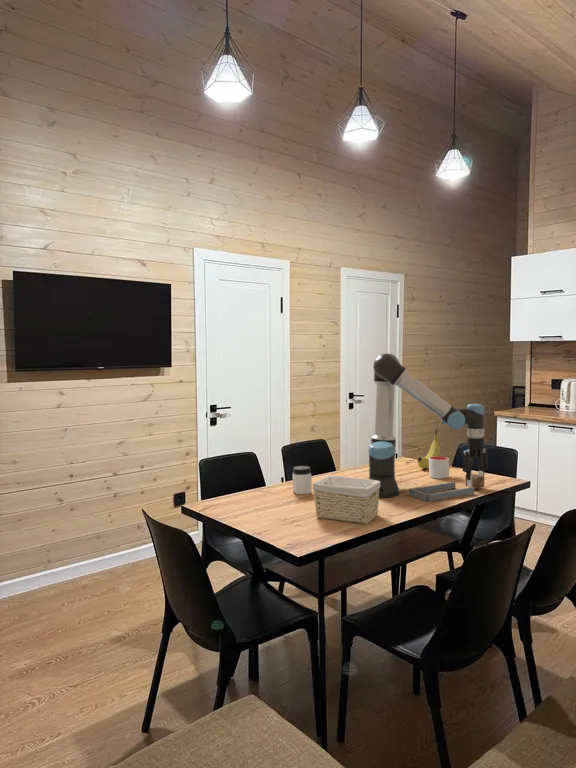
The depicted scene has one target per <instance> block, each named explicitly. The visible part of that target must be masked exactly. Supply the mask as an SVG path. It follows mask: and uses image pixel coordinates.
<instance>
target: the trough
mask: <svg viewBox="0 0 576 768" xmlns="http://www.w3.org/2000/svg"><path fill="white" fill-rule="evenodd" d="M452 488H455V489H452ZM446 489H450V490H446ZM440 490H443V491H440ZM435 491H437V492H435ZM469 494H472V495H475V489H474V488H473V487H464V488H459V489H456V482H455V481H451V482H450V481H449V482H444V483H443V482H442V483H437V484H431V485H423V486H418V487H412V488H409V489H408V495H409V496H411V497H413V498H415V499H418V498H419V500H421V501H425V502H426V503H431V502H436V501H435V500H437V501H441V500H440V499H443V500H446V499H445V498H449V499H452V498H451V497H455V498H458V497H457V496H460V497H464V496H463V495H466V496H470V495H469ZM430 501H431V502H430Z"/></svg>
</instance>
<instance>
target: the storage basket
mask: <svg viewBox="0 0 576 768" xmlns="http://www.w3.org/2000/svg"><path fill="white" fill-rule="evenodd" d="M380 487H381V485H380V481H377V480H371V479H369V478H360V477H350V476H343V475H342V476H341V475H326V476H324V477H322V478H320V479H318V480H316V481H314V482H313V484H312V490H313V495H314V504H315V512H316V513H315V514H316V518H319V519H327V520H328V519H329V520H333V521H334V520H335V521H336V520H337V521H340V522H346V523H355V524H356V523H357V524H364V525H367V524H368V523H370V522H371V521H372V520H373V519H375V518H377V515H378V513H379V500H380V497H379V488H380Z"/></svg>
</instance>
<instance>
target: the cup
mask: <svg viewBox="0 0 576 768" xmlns="http://www.w3.org/2000/svg"><path fill="white" fill-rule="evenodd" d="M428 471H429V472H428V475H429V477H430V478H432V479H435V478H436V479H438V480H445V479H447V478H449V476H450V458H449V457H446V456H440V455H439V456H435V457H430V458H429V468H428ZM444 478H445V479H444Z"/></svg>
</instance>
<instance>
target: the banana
mask: <svg viewBox="0 0 576 768" xmlns="http://www.w3.org/2000/svg"><path fill="white" fill-rule="evenodd" d="M433 435H434V439H433V441H432V443H431V444H430V448H429V451H428V453H427V455H426V456H425V457H420V456H419V457H418V458H417V464H418V466H419V468H421V469H429V458H430V457H435V456H440V453H441V445H440V442H439V440H438V437H437V435H438V430H437V429H435V430H434V432H433Z"/></svg>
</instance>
